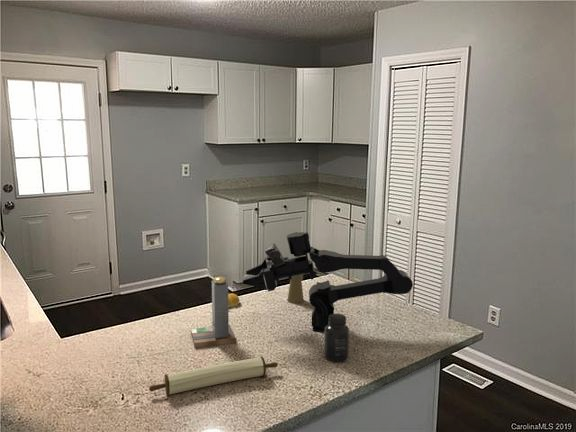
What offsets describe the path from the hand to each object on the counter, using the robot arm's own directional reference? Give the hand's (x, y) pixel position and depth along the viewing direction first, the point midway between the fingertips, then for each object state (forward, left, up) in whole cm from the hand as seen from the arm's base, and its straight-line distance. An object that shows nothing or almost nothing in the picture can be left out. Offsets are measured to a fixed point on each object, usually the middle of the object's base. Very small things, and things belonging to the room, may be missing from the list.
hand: (244, 277), depth 148 cm
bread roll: (+11, -17, -17) cm, 27 cm away
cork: (-13, -25, -17) cm, 33 cm away
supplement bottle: (-30, +16, -17) cm, 38 cm away
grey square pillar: (+6, +9, -14) cm, 18 cm away
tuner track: (+7, +10, -16) cm, 21 cm away
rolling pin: (-1, +35, -17) cm, 39 cm away
